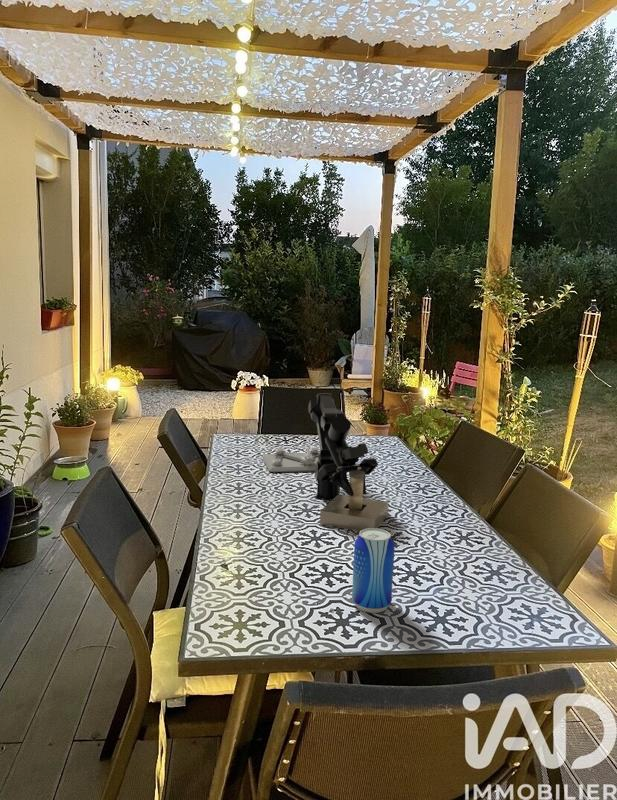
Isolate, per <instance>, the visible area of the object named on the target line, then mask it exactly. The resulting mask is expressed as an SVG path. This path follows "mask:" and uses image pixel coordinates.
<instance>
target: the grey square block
mask: <svg viewBox="0 0 617 800" xmlns="http://www.w3.org/2000/svg"><path fill="white" fill-rule="evenodd" d="M348 505H349V495H341V494H340V495H337V496H336V497H335V498H334V499H333V500H330V502H329V503H327V504H326V505H325V506H324V507H323V508H322V509H321V510H320V514H319V517H320V518H319V524H320V525H323V526H329V527H335V528H342V529H348V530H353V531H358V532H360V531H361V530H363V529H368V528H377V529H379V528H380V526H381V525H382V524H383V522H384V521H385V519H386V518H387V516H388V515H389V502H388V501H383V500H375V499H370V498H363V500H362V511H360V510H353V509H348Z"/></svg>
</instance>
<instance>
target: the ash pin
mask: <svg viewBox="0 0 617 800" xmlns="http://www.w3.org/2000/svg"><path fill="white" fill-rule="evenodd" d="M348 476H349V483H350V486H351V488H352V490H353V494H354V495H353V496H350V495H349V494H348V496H349V505H348V509H353V510H360V511H362V500H363V499H364V498H363V497H364V494H363V481H364V477H365V478H366V475H365V472H364V471H361V470H351V471H349V472H348Z"/></svg>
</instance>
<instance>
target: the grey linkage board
mask: <svg viewBox="0 0 617 800" xmlns="http://www.w3.org/2000/svg"><path fill="white" fill-rule="evenodd" d="M285 449H286V448H284V447H282V446H278V447H276V449H275V450H274V453H264V454H262V456H261V458H262V460H263V462H264V464H265V466H266V467H267V469H268V471H269V472H270V473H271V472H273V473H272V474H277V473H276V472H284V473H308V472H310V473H312V472H313V473H314V470H315V466H316V463H317V462H318V457H319V454H320V448H319V447H317V446H315V445H314V446H311V447H310V449H309V452H297V453H296V452H294V453H293V452H291V453H290V452H288V453H287V452H286V450H285Z"/></svg>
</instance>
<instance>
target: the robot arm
mask: <svg viewBox="0 0 617 800" xmlns="http://www.w3.org/2000/svg"><path fill="white" fill-rule="evenodd" d="M307 408H308V414H310V419H311V421H313V422H314V423H315V424H316V428H317V436H318V442H319V449H320V450H319V451H320V452H319V453H320V454H319V457H318V462H317V463H316V466H315V470H314V472H313V473H314V478H315V480H316V481H317V483H316V485H317V487H316V490H317V491H316V495H315V496H314V498H316V499H319V500H326V501H332V500H333V499H334V498H335V497H336V496H337V495H341V493H340V491H341V489H342V490H343V491H344V492H346V493H347V494H348V496H349V495H350V496H353V495H354V494H353V490H352V488H351V486H350V480H349V479H348V473H349V471H351V470H361V471H364V472H365V477H364V481H363V495H365V494H366V492H367V488H366V475H370V474H371V473H372V472H373V471H374V470H375V469H376V468H377V467H378V466H379V462H378V461H377V459H376V458H374V457H370V458H369V457H368V458H364V457H366V455H368V453H369V450H368V446H367V444H366V443H360V444H359V443H358V444H357V446H351V445H350V446H349V445H348V443H347V438H348V435H349V432H350V429H351V426H352V425H351V422H350V419H348V417H347V416H346V415H345V413H344V412H343V411H342V410H340V409H337V407H336V405H335V399H334V398H333V394H332V393H329V392H327V393H326V392H320V393H316V396H315V397H312V398H311V399H310V400H309V403H308V407H307ZM361 458H364V459H362V461H361V462H360V463H358V462H359V461H360V459H361Z"/></svg>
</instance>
